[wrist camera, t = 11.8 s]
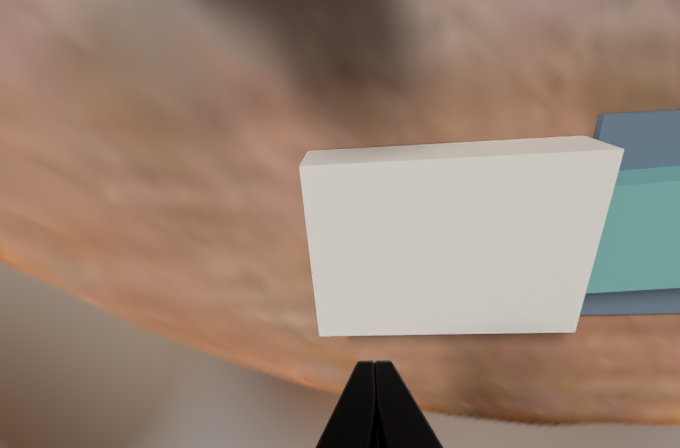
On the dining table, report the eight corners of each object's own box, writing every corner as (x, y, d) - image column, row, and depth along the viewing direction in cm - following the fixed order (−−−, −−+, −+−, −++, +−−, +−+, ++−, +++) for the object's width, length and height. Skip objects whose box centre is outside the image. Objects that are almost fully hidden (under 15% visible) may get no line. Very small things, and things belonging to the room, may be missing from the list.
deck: (584, 135, 18) (624, 149, 15) (548, 298, 22) (575, 332, 19) (308, 150, 19) (299, 166, 16) (324, 303, 23) (319, 336, 20)
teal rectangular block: (776, 156, 17) (825, 168, 15) (733, 262, 20) (771, 282, 18) (581, 174, 18) (606, 187, 16) (564, 273, 21) (584, 293, 19)
